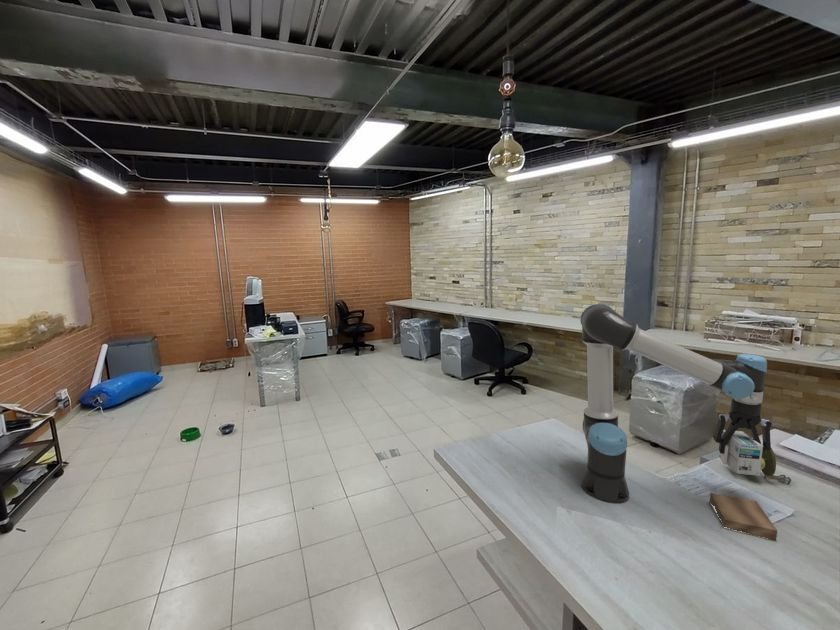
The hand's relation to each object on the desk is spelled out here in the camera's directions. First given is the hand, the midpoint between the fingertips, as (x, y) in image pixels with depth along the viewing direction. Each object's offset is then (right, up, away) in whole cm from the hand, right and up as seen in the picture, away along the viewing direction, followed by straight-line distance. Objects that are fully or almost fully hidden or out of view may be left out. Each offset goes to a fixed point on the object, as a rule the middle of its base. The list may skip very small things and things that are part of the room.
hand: (738, 464), depth 126 cm
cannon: (+20, -9, +22) cm, 31 cm away
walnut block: (-9, -14, -11) cm, 20 cm away
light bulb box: (0, -1, 0) cm, 1 cm away
